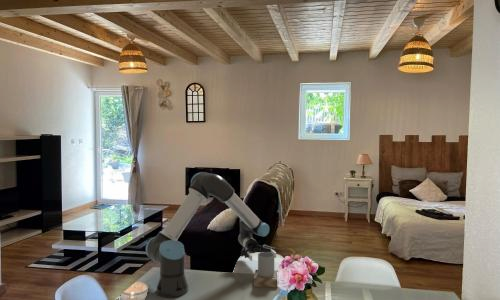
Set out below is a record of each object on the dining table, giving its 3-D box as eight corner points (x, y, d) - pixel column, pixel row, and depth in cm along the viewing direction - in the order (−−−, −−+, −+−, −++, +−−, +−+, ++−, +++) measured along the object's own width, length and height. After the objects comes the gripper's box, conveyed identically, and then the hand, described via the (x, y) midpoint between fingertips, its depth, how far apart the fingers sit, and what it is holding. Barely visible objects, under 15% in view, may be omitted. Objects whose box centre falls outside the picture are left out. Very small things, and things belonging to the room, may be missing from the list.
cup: (274, 271, 195) (274, 252, 194) (274, 277, 187) (274, 257, 186) (258, 270, 196) (258, 251, 195) (257, 276, 187) (257, 257, 187)
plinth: (253, 286, 186) (253, 277, 186) (255, 277, 198) (255, 269, 198) (277, 287, 185) (277, 278, 184) (278, 277, 197) (278, 269, 196)
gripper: (271, 249, 220) (285, 261, 199) (230, 253, 212) (241, 266, 192) (271, 236, 219) (285, 247, 199) (230, 240, 211) (241, 252, 191)
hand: (263, 256), depth 195 cm, fingers open, 13 cm apart
